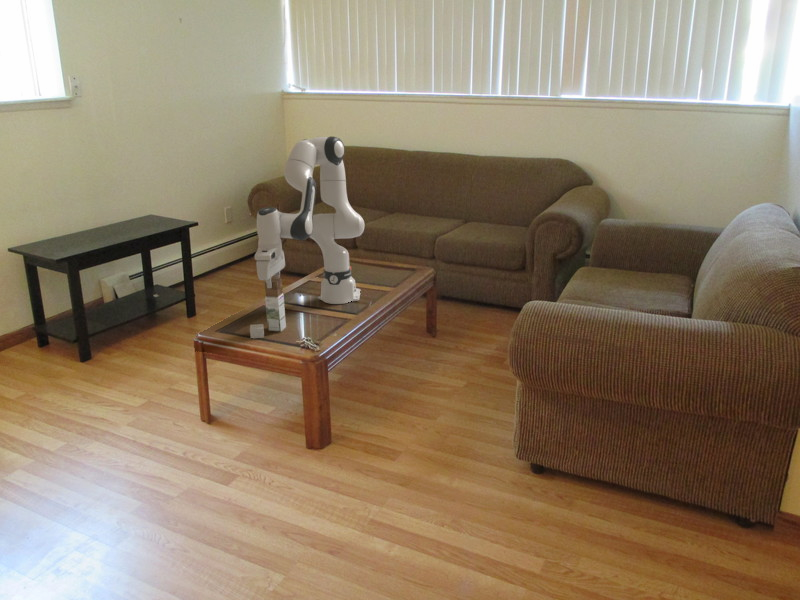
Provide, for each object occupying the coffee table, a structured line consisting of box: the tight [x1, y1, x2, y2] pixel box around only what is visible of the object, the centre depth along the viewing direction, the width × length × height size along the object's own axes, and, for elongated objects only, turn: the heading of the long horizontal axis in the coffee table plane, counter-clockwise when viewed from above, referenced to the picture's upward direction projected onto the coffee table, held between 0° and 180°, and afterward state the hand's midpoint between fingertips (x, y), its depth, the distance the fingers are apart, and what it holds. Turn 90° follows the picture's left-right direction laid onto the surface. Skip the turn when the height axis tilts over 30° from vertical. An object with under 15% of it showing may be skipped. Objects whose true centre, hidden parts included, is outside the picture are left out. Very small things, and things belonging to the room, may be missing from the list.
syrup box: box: [264, 293, 287, 333], centre depth 270 cm, size 6×6×14 cm
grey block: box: [249, 323, 265, 339], centre depth 265 cm, size 5×5×4 cm
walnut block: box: [264, 277, 284, 297], centre depth 267 cm, size 5×5×6 cm
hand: (273, 285), depth 266 cm, fingers open, 6 cm apart
